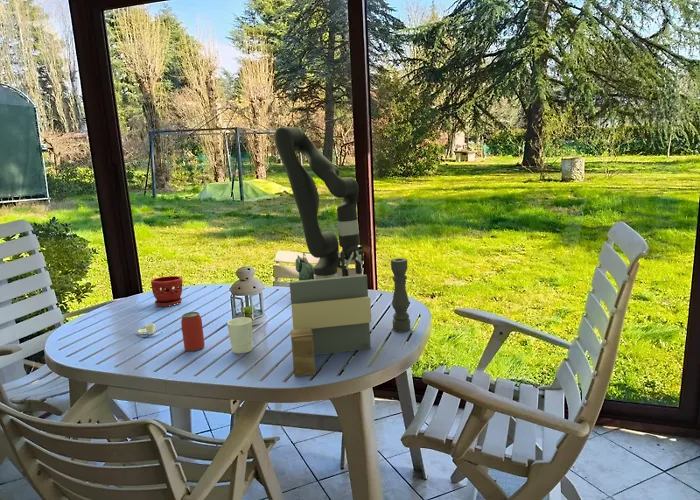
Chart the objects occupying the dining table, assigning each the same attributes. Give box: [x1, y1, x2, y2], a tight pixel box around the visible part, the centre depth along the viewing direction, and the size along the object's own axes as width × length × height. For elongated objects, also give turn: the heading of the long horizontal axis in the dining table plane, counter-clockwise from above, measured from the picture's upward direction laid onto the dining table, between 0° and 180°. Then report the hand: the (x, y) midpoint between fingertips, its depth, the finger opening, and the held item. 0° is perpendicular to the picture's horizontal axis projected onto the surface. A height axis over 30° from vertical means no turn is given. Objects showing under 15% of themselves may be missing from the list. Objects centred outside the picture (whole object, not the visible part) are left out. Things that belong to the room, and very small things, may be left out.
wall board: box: [289, 274, 372, 356], centre depth 154 cm, size 12×24×24 cm, turn 99°
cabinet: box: [290, 328, 317, 378], centre depth 142 cm, size 10×6×12 cm, turn 9°
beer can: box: [180, 311, 205, 352], centre depth 164 cm, size 7×7×12 cm
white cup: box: [226, 316, 254, 355], centre depth 161 cm, size 8×8×10 cm
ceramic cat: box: [295, 252, 315, 281], centre depth 219 cm, size 20×6×20 cm, turn 23°
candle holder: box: [390, 257, 411, 333], centre depth 170 cm, size 6×6×25 cm
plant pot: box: [150, 275, 183, 307], centre depth 220 cm, size 13×13×12 cm
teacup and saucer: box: [137, 322, 157, 335], centre depth 182 cm, size 9×8×4 cm
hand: (352, 276), depth 179 cm, fingers open, 8 cm apart
